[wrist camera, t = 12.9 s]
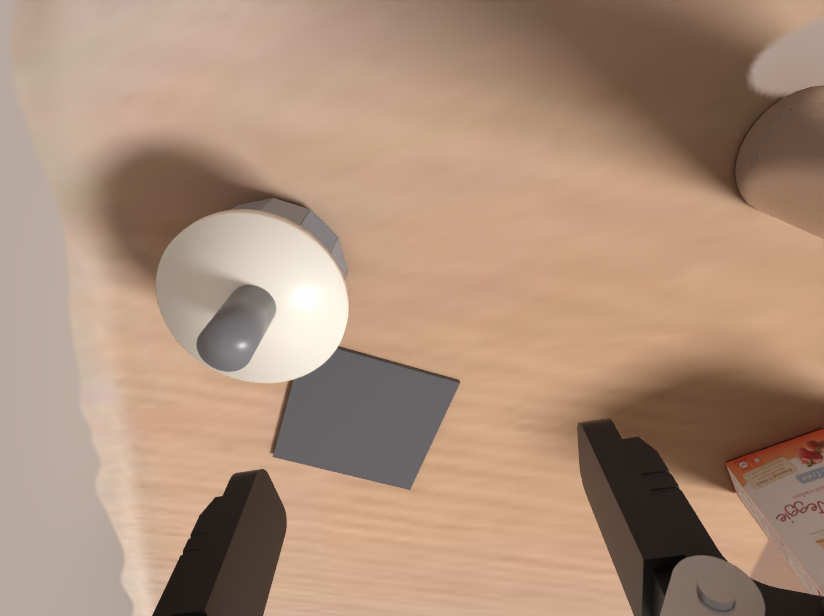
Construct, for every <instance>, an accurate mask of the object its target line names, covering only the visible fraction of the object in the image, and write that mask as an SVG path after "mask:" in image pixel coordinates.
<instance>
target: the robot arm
mask: <svg viewBox="0 0 824 616" xmlns="http://www.w3.org/2000/svg"><path fill="white" fill-rule="evenodd" d="M735 175H736V183H737V187H738V189H739V192H740V194H741V196H742V197H743V198H744V200H745V201H746V202H747V203H748V204H749V205H751V206H752V207H754V208H755V209H756V210H759V211H761V212H763V213H766V214H768V215H770V216H773V217H775V218H777V219H780V220H782V221H784V222H786V223H789V224H791V225H793V226H795V227H797V228H800V229H802V230H804V231H807V232H809V233H811V234H813V235H816V236H818V237H820V238H823V239H824V86H816V87H810V88H806V89H803V90H800V91H797V92H795V93H793V94H791V95H789V96H787V97H785V98H783V99H781V100H780V101H779V102H777V103H776V104H775V105H773V106H772V107H770V108H769V109H768V110H767V111H766V112H765V113H764V114H763V115H762V116H761V117H760V118H759V119H758V120H757V121H756V123H755V124H754V125H753V127H752V128H751V129H750V131H749V132H748V133H747V135H746V137H745V139H744V141H743V143H742V145H741V147H740V151H739V154H738V157H737V160H736V170H735ZM577 430H578V447H579V465H580V473H581V478H582V482H583V486H584V489H585V492H586V495H587V498H588V500H589V503H590V505H591V508H592V510H593V513H594V515H595V518H596V520H597V523H598V525H599V528H600V530H601V533H602V536H603V538H604V541H605V543H606V546H607V548H608V551H609V553H610V556H611V558H612V561H613V563H614V566H615V568H616V571H617V573H618V576H619V578H620V581H621V584H622V586H623V589H624V591H625V594H626V596H627V599H628V601H629V604H630V606H631V609H632V611H633V614H634V616H824V597H823V596H818V595H812V594H807V593H801V592H796V591H791V590H785V589H780V588H775V587H772V586H768V585H765V584H762V583H760V582H758V581H756V580H753V579H751V578H750V577H749V576H748V575H747V574H745V573H744V572H743V571H742V570H740V569H739V568H738V567H736V566H734V565H733V564H731V563H729V562H728V561H727V560H726V559H725V558H724V557H723V556H722V554H721V553H720V552H719V550H718V549H717V547H716V545H715V544H714V542H713V541H712V539H711V537H710V536H709V534H708V533H707V531H706V529H705V528H704V526H703V525H702V523H701V521H700V520H699V518H698V516H697V515H696V513H695V512H694V510H693V508H692V507H691V505H690V504H689V502H688V500H687V499H686V497H685V496H684V494H683V492H682V491H681V490H680V489H679V486H678V484H677V483H676V481H675V479H674V478H673V476H672V475H671V474H670V473H669V470H668V468H667V467H666V465H665V463H664V462H663V460H662V458H661V457H660V455H659V454H658V452H657V451H656V450H654V449H653V448H652V447H651V446H649V445H648V444H647V443H645V442H644V441H643V440H642V439H640V438H639V437H633V438H627V439H622V438H621V436H620V434H619V432H618V430H617V429H616V427H615V425H614V423H613V422H612V420H611V419H609V418H607V419H600V420H594V421H587V422H580V423H578V426H577ZM286 526H287V520H286V512H285V509H284V506H283V504H282V502H281V500H280V498H279V496H278V493H277V491H276V489H275V487H274V485H273V483H272V481H271V479H270V477H269V474H268V473H267V471H266V470H264V469H260V470H253V471H247V472H240V473H235V474H234V475H232V477H231V478H230V480H229V483H228V485H227V487H226V490H225V492H224V494H223V496H220V497H215V498H214V499H213V501H212V502H211V503H210V504H209V505H208V506H207V508H206V509H205V510H204V511H203V512H202V513H201V515H200V516H199V518H198V520H197V522H196V524H195V527H194V529H193V531H192V533H191V538H190V539H188V541H187V543H186V546H185V548H184V550H183V555H181V556H180V558H179V560H178V562H177V564H176V567H175V569H174V571H173V573H172V575H171V577H170V579H169V581H168V583H167V586H166V588H165V590H164V592H163V594H162V596H161V598H160V600H159V602H158V605H157V607H156V609H155V611H154V613H153V615H152V616H263V614H264V610H265V606H266V603H267V599H268V595H269V592H270V588H271V584H272V581H273V577H274V573H275V570H276V566H277V563H278V559H279V555H280V552H281V548H282V544H283V541H284V537H285V533H286Z"/></svg>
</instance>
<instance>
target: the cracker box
mask: <svg viewBox="0 0 824 616" xmlns="http://www.w3.org/2000/svg"><path fill="white" fill-rule="evenodd" d="M726 466H727V469H728V472H729V474H730V477H731V480H732V482H733V485H734V488H735V490H736V493H737V496H738V497H739V499H740V500H741V501H742V503H743V504H744V506H745V507H746V508H747V510H748V511H749V513H750V514H751V515H752V517H753V518H754V519H755V521H756V522H757V523H758V525H759V526H760V528H761V529H762V530H763V532H764V533H765V535H766V536H767V537H768V539H769V540H770V541H771V543H772V544H773V546H774V547H775V548H776V550H777V551H778V552H779V554H780V555H781V556H782V558H783V559H784V560H785V562H786V563H787V565H788V566H789V567H790V569H791V570H792V571H793V573H794V574H795V575H796V577H797V578H798V580H799V581H800V582H801V584H802V585H803V586H804V588H805V589H806V590H807V592H808V593H809V594H812V595H818V596H823V597H824V428H823V429H820V430H817V431H815V432H812V433H809V434H806V435H803V436H800V437H797V438H795V439H792V440H789V441H786V442H783V443H780V444H777V445H774V446H772V447H769V448H766V449H763V450H760V451H757V452H754V453H752V454H749V455H746V456H743V457H740V458H737V459H734V460H731V461H728V462H726Z"/></svg>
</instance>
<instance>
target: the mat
mask: <svg viewBox="0 0 824 616" xmlns="http://www.w3.org/2000/svg"><path fill="white" fill-rule="evenodd" d="M459 384H460V381H459V380H456V379H452V378H448V377H445V376H441V375H438V374H434V373H431V372H427V371H423V370H420V369H416V368H413V367H409V366H406V365H402V364H398V363H395V362H391V361H388V360H384V359H380V358H377V357H373V356H370V355H366V354H363V353H359V352H355V351H352V350H348V349H345V348H341V347H337V349H336V350H335V352H334V353H333V354H332V355H331V357H330V358H329V359H328V360H327V361H326V362H325V363H324V364H323V365H321V366H320V367H318V368H317V369H315V370H314V371H312V372H310V373H308V374H306V375H304V376H302V377H299V378H296V379H294V380H293V383H292V387H291V391H290V395H289V398H288V402H287V406H286V410H285V413H284V417H283V421H282V425H281V428H280V432H279V436H278V440H277V443H276V447H275V451H274V455H273V457H275V458H280V459H284V460H288V461H292V462H296V463H300V464H305V465H309V466H313V467H317V468H321V469H325V470H329V471H334V472H338V473H342V474H346V475H350V476H354V477H358V478H363V479H367V480H371V481H375V482H379V483H383V484H388V485H392V486H396V487H400V488H404V489H408V490H410V489H411V487H412V484H413V482H414V480H415V478H416V476H417V474H418V472H419V469H420V467H421V465H422V463H423V461H424V459H425V457H426V454H427V452H428V450H429V448H430V446H431V444H432V442H433V439H434V437H435V435H436V433H437V431H438V429H439V427H440V424H441V422H442V420H443V418H444V416H445V414H446V412H447V409H448V407H449V405H450V403H451V401H452V399H453V397H454V394H455V392H456V390H457V388H458V386H459Z"/></svg>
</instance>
